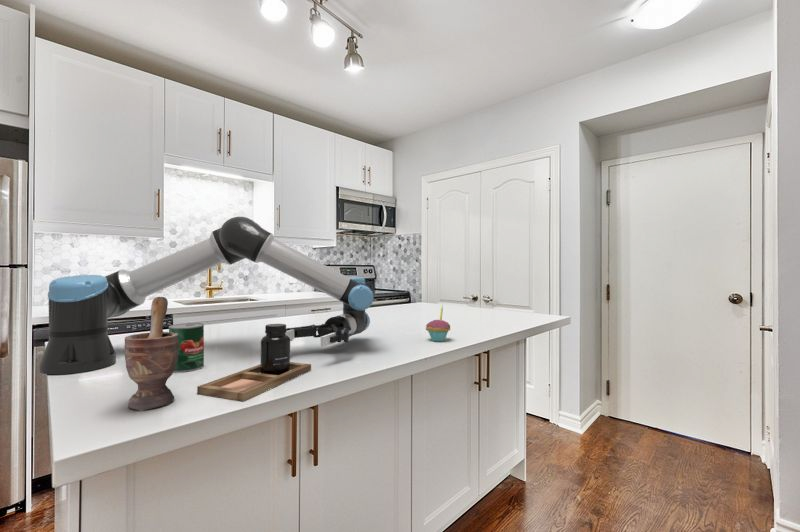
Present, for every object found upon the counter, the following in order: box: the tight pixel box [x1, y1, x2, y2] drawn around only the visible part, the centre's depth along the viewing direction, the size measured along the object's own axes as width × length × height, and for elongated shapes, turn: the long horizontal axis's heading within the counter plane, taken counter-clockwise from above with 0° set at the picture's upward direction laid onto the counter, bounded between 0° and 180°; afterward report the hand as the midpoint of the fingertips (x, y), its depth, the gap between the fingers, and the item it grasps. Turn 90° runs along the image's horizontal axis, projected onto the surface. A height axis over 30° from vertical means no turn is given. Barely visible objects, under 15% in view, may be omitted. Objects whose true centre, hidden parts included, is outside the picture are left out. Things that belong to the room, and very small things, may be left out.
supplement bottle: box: [259, 323, 291, 375], centre depth 92 cm, size 7×7×12 cm
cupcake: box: [425, 305, 451, 342], centre depth 133 cm, size 9×8×12 cm
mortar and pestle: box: [124, 296, 178, 412], centre depth 74 cm, size 12×9×20 cm
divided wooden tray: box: [196, 361, 312, 402], centre depth 87 cm, size 12×23×2 cm, turn 159°
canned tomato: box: [168, 322, 205, 373], centre depth 98 cm, size 8×8×11 cm
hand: (299, 340), depth 101 cm, fingers open, 13 cm apart
